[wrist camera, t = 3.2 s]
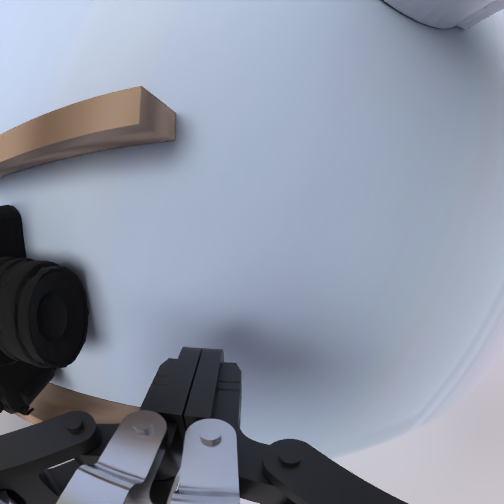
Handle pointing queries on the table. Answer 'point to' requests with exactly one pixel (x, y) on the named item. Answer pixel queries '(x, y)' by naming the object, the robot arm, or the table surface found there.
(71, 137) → the walnut chute
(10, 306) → the film camera
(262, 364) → the table surface
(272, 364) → the table surface
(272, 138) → the table surface
